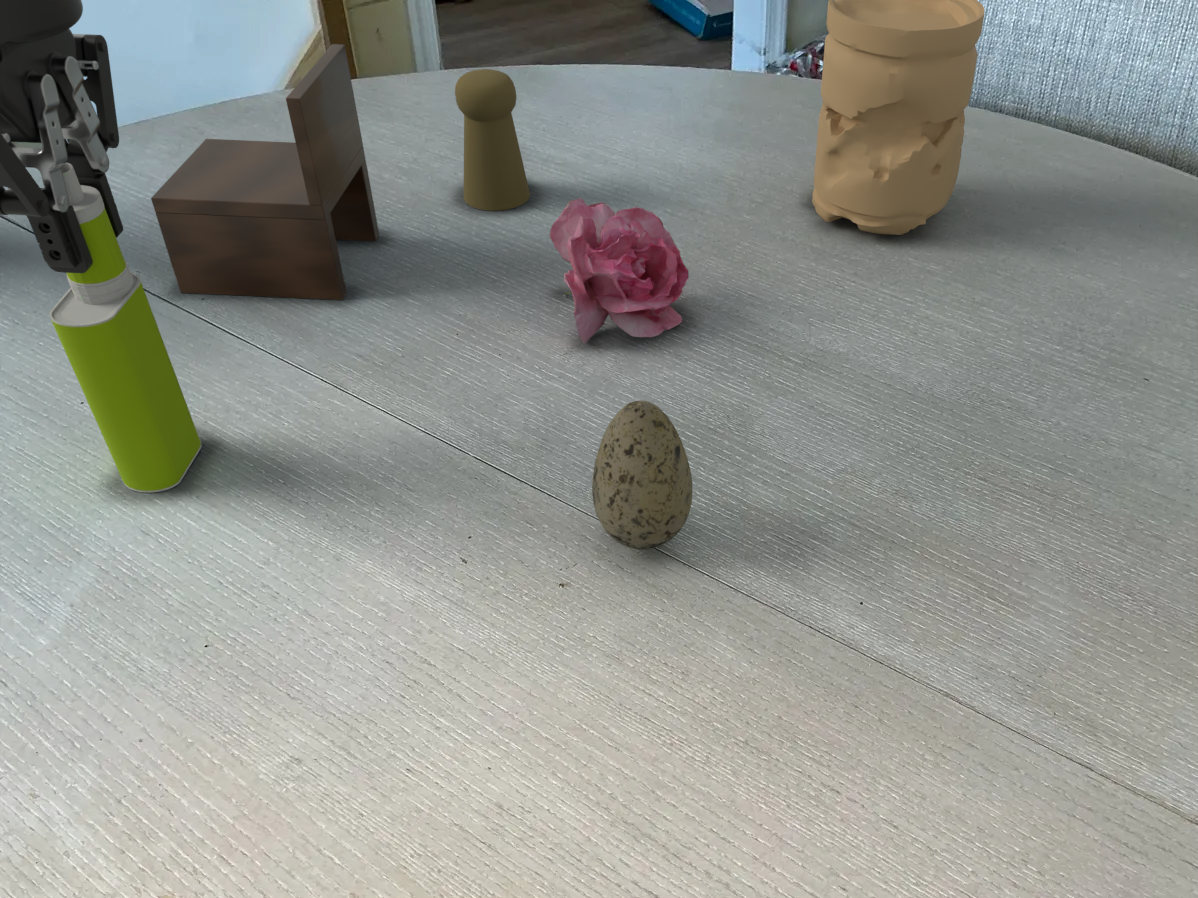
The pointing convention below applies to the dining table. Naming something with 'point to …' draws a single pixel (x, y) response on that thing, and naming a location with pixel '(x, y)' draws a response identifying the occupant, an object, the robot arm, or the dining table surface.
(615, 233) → the flower
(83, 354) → the vape
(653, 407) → the decorative egg
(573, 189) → the dining table surface
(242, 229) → the wooden toy chair
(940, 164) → the container
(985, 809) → the dining table surface
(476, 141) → the brown peg doll
